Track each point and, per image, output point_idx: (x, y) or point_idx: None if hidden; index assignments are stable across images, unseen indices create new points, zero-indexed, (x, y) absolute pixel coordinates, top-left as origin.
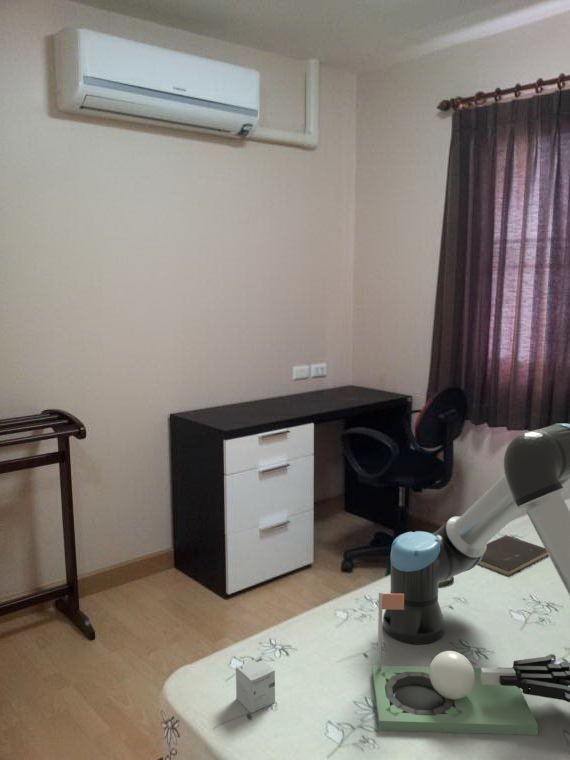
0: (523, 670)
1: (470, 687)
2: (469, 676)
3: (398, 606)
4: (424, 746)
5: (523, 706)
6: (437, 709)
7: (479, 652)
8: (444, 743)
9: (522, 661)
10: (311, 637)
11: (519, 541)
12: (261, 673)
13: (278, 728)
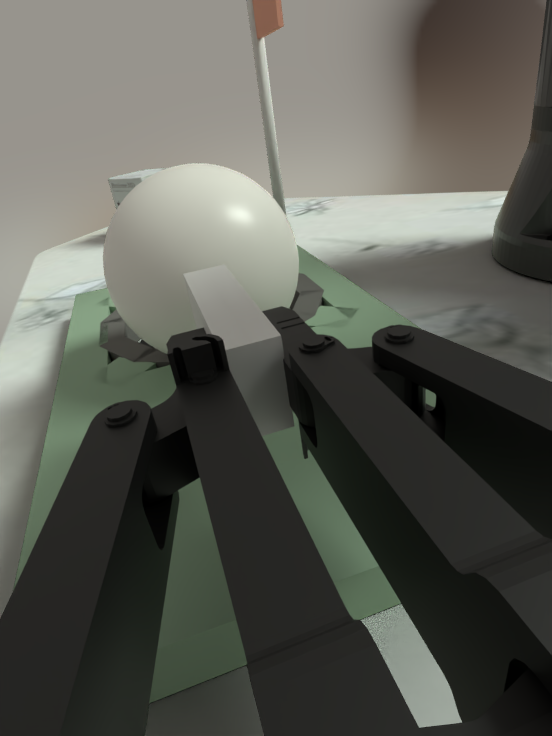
0: (309, 389)
1: (140, 314)
2: (129, 259)
3: (271, 15)
4: (13, 380)
5: (215, 591)
6: (131, 344)
7: None
8: (19, 408)
9: (449, 358)
10: (373, 210)
11: None
12: (128, 176)
13: (90, 258)
